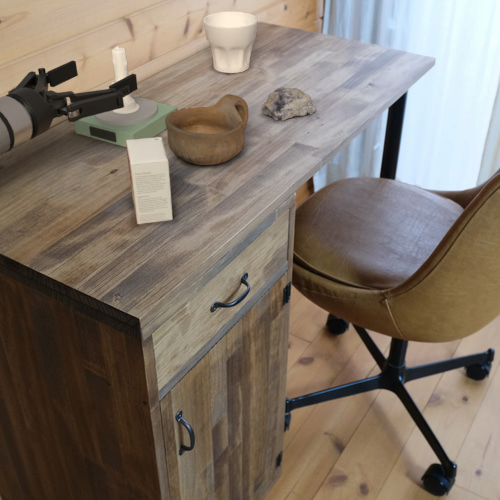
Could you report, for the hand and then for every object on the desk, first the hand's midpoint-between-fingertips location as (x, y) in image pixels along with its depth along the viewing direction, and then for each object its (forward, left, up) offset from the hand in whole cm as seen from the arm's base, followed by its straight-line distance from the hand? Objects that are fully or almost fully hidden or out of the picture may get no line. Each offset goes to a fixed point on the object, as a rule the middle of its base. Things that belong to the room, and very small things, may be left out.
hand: (104, 74), depth 116 cm
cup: (+1, +42, -12) cm, 44 cm away
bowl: (+20, +3, -12) cm, 24 cm away
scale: (0, +4, -12) cm, 13 cm away
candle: (0, +4, -8) cm, 9 cm away
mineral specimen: (+25, +24, -12) cm, 37 cm away
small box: (+22, -18, -12) cm, 31 cm away
